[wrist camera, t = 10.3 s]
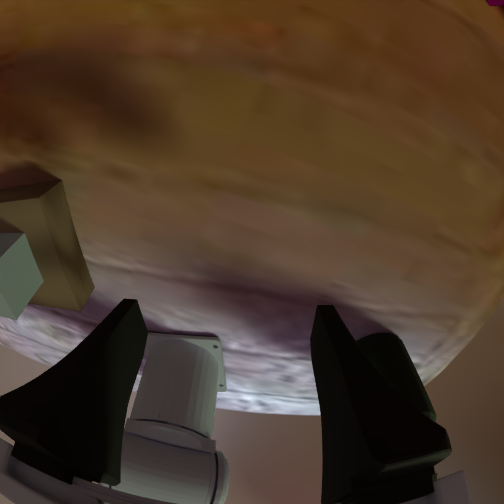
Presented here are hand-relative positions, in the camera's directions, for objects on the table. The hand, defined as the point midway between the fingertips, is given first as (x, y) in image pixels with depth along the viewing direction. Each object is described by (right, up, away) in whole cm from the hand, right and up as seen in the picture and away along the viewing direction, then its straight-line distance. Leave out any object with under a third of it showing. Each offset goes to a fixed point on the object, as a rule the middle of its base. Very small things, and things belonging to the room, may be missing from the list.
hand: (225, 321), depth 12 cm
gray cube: (-18, +2, +7) cm, 19 cm away
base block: (-18, +4, +9) cm, 20 cm away
